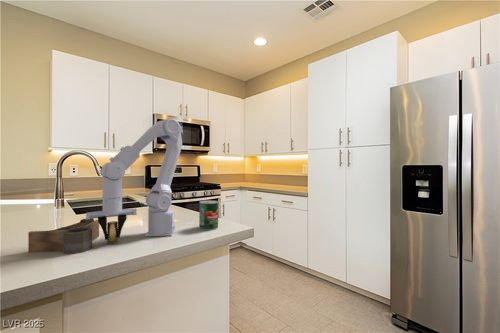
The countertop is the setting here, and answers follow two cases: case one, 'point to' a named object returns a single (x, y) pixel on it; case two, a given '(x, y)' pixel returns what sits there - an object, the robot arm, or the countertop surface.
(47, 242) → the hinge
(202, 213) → the canned tomato
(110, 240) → the pin
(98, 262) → the countertop surface
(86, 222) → the hand tool
